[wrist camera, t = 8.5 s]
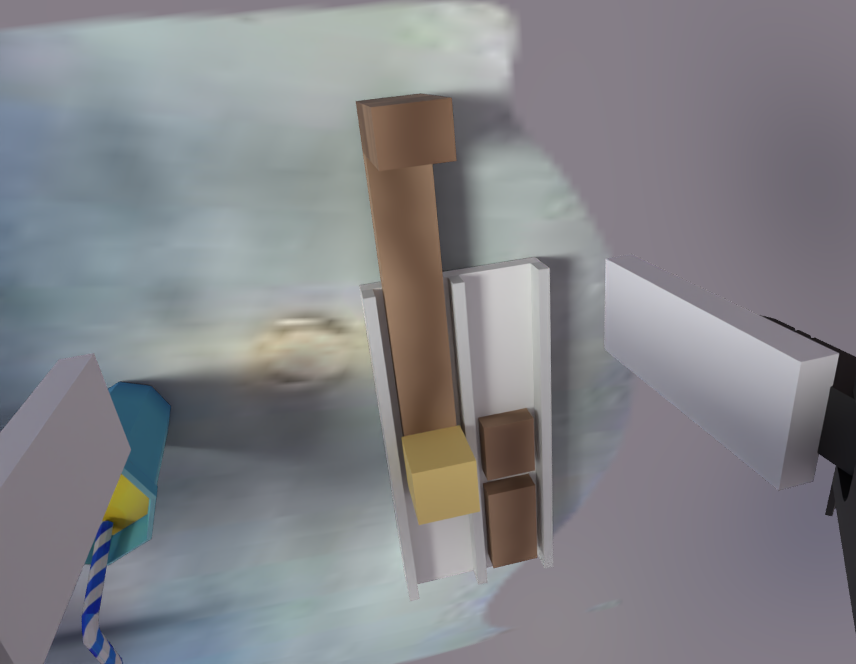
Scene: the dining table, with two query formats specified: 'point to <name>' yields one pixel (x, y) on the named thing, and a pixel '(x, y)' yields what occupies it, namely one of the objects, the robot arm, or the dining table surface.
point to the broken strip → (509, 486)
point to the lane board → (474, 404)
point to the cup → (126, 501)
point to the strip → (411, 247)
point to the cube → (441, 474)
